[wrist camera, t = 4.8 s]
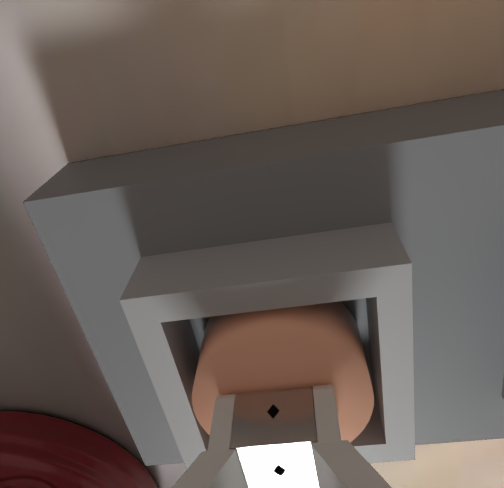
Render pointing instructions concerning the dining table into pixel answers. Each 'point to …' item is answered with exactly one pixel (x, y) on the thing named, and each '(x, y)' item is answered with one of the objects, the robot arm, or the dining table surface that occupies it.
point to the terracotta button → (286, 359)
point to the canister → (63, 456)
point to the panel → (297, 263)
